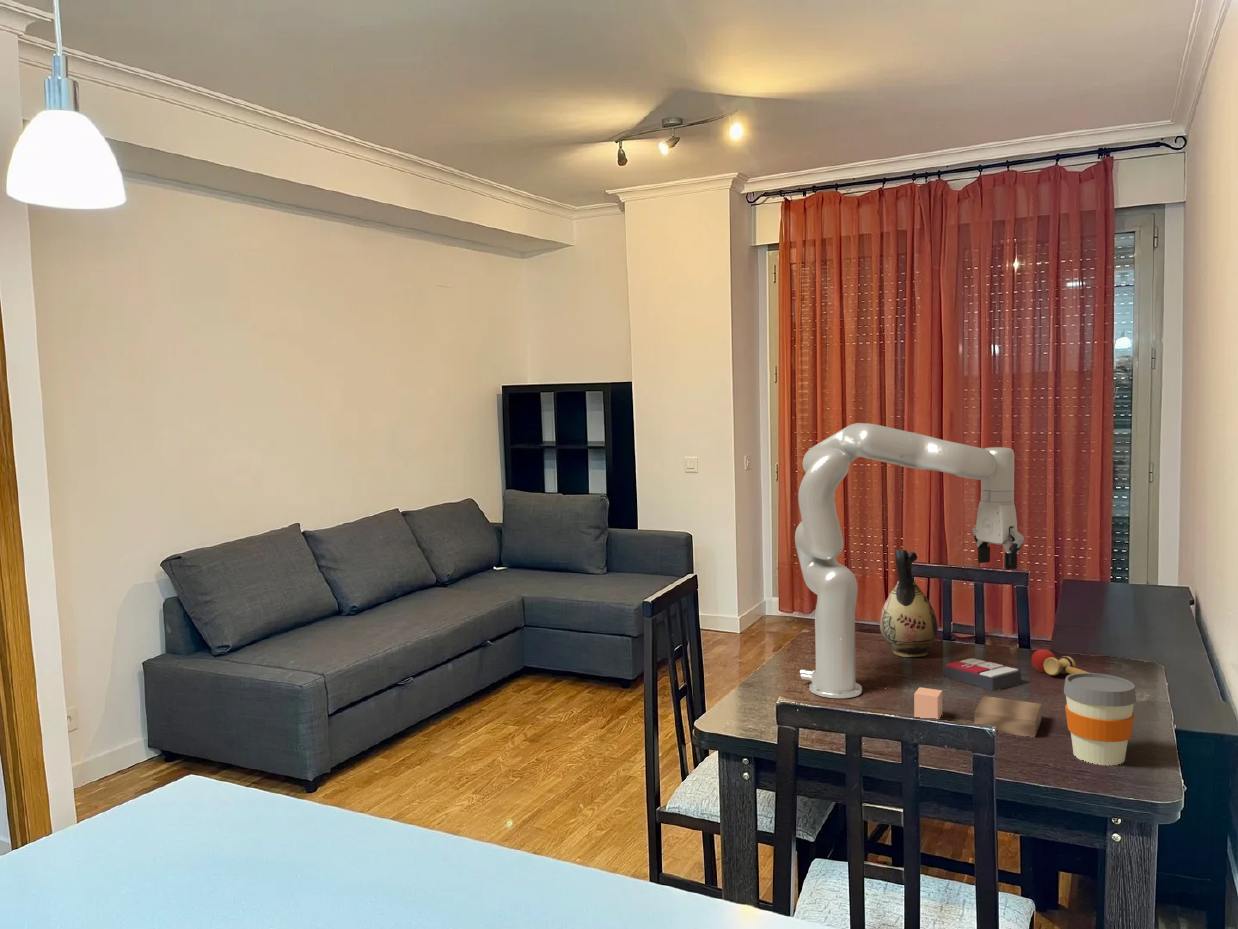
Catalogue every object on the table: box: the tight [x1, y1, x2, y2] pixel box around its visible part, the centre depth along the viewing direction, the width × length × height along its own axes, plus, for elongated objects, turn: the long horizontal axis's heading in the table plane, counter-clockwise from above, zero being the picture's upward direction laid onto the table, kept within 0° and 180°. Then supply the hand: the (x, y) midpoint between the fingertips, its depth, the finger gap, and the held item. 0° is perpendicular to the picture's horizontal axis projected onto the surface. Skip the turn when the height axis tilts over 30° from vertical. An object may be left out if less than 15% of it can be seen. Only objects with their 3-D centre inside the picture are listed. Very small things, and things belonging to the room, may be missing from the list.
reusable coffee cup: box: [1063, 672, 1137, 767], centre depth 175 cm, size 13×13×15 cm
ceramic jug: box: [879, 548, 939, 658], centre depth 249 cm, size 17×15×30 cm
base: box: [973, 695, 1043, 738], centre depth 195 cm, size 12×12×4 cm
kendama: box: [1030, 648, 1090, 676], centre depth 225 cm, size 8×6×18 cm
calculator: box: [942, 657, 1022, 692], centre depth 225 cm, size 11×4×15 cm
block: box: [913, 687, 943, 720], centre depth 199 cm, size 5×5×6 cm
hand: (996, 565), depth 222 cm, fingers open, 9 cm apart
